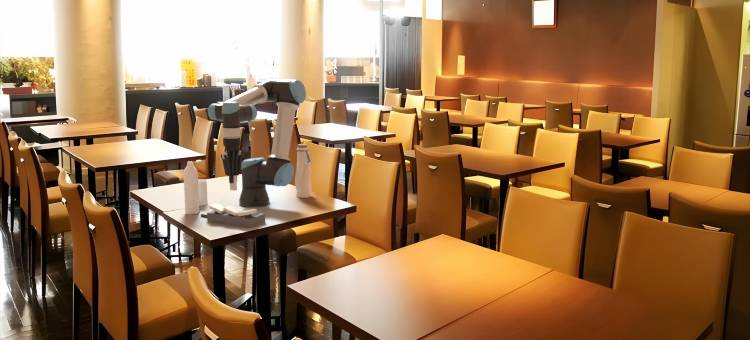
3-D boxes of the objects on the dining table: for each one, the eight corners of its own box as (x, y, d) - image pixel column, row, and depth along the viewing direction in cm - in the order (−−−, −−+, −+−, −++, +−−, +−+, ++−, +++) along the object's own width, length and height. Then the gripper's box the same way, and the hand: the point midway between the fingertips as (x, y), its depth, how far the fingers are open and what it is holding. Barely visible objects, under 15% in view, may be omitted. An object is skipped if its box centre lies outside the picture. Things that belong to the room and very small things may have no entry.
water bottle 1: (188, 215, 287) (185, 163, 283) (183, 212, 292) (180, 161, 288) (206, 212, 293) (203, 161, 288) (200, 209, 298) (198, 159, 293)
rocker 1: (216, 205, 281) (217, 203, 281) (228, 211, 279) (228, 208, 278) (209, 208, 277) (209, 205, 276) (221, 213, 274) (221, 211, 274)
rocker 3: (245, 213, 274) (244, 210, 274) (257, 211, 271) (256, 208, 271) (237, 216, 270) (237, 213, 270) (250, 214, 267) (249, 211, 267)
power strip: (209, 213, 291) (208, 203, 290) (265, 222, 277) (264, 211, 276) (192, 219, 281) (192, 208, 280) (250, 228, 267) (249, 217, 266)
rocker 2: (230, 207, 278) (230, 205, 277) (242, 213, 275) (243, 210, 275) (223, 210, 273) (223, 207, 273) (235, 216, 271) (235, 213, 270)
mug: (181, 206, 304) (180, 182, 302) (198, 201, 315) (197, 178, 312) (194, 208, 301) (193, 184, 298) (210, 203, 311) (209, 180, 309)
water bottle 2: (317, 196, 328) (316, 144, 323) (306, 199, 321) (305, 146, 316) (302, 193, 334) (301, 142, 328) (291, 196, 326) (290, 144, 321)
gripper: (234, 135, 275) (236, 186, 279) (214, 138, 263) (216, 191, 268) (248, 136, 271) (249, 188, 276) (228, 139, 260) (230, 193, 264)
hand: (233, 189), depth 272 cm, fingers closed
